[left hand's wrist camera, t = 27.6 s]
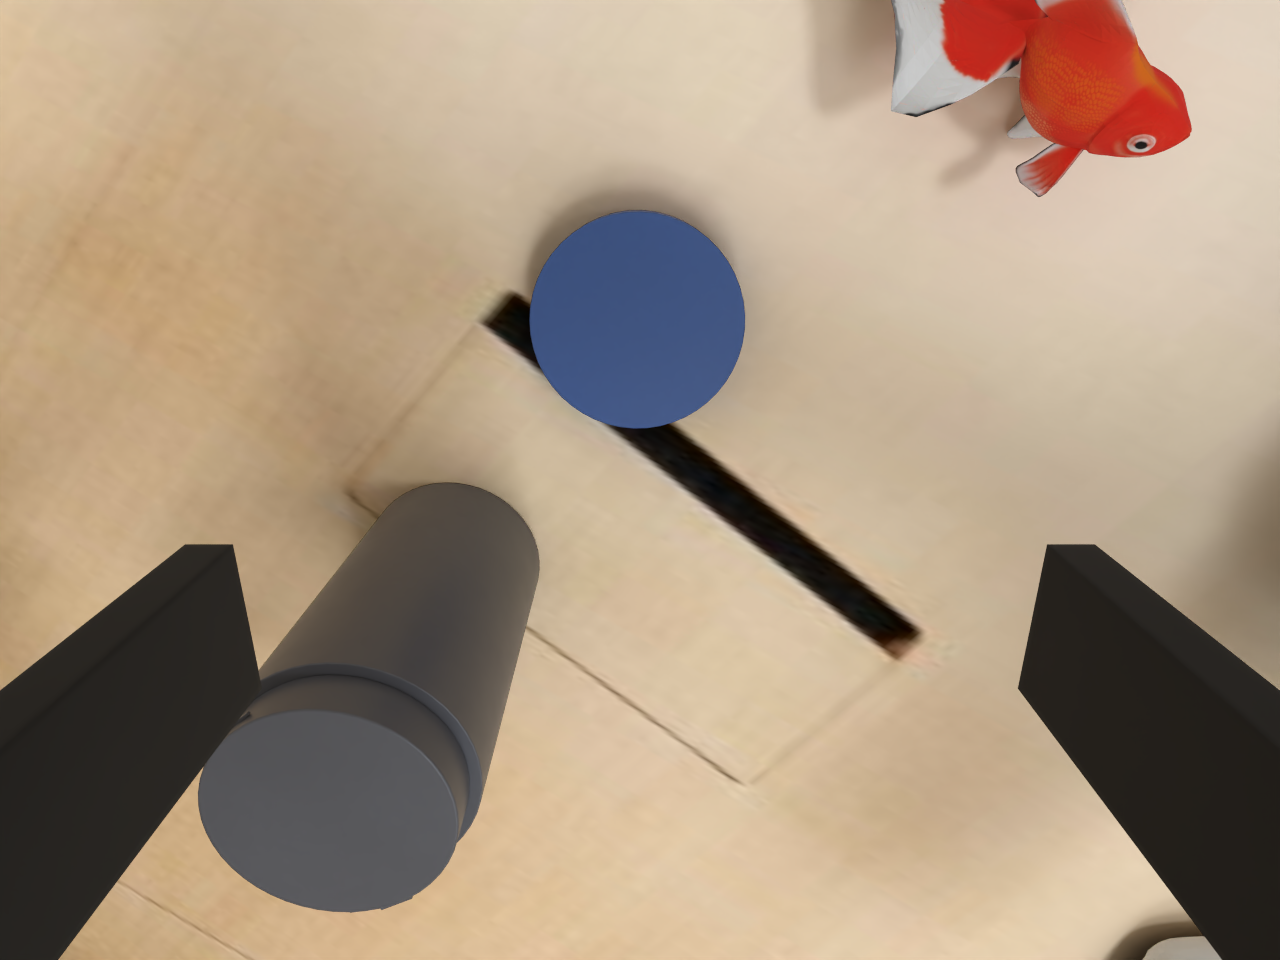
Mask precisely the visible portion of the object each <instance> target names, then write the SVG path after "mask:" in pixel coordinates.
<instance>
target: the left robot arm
mask: <svg viewBox="0 0 1280 960" xmlns="http://www.w3.org/2000/svg"><path fill="white" fill-rule="evenodd" d="M261 689H262V686H261V681H260V676H259V671H258V666H257V661H256V656H255V651H254V647H253V642H252V637H251V632H250V627H249V622H248V617H247V612H246V607H245V602H244V597H243V592H242V587H241V583H240V578H239V573H238V568H237V563H236V558H235V553H234V548H233V545H184V546H183V547H181V548H180V549H179V550H178V551H176V552H175V553H174V554H173V555H171V556H170V557H169V558H168V559H166V560H165V561H164V562H162V563H161V564H160V565H159V566H157V567H156V568H155V569H154V570H152V571H151V572H150V573H149V574H147V575H146V576H145V577H143V578H142V579H141V580H140V581H138V582H137V583H136V584H135V585H133V586H132V587H131V588H130V589H128V590H127V591H126V592H124V593H123V594H122V595H121V596H119V597H118V598H117V599H116V600H114V601H113V602H112V603H111V604H109V605H108V606H107V607H105V608H104V609H103V610H102V611H100V612H99V613H98V614H97V615H95V616H94V617H93V618H92V619H90V620H89V621H88V622H86V623H85V624H84V625H83V626H81V627H80V628H79V629H78V630H76V631H75V632H74V633H73V634H71V635H70V636H69V637H67V638H66V639H65V640H64V641H62V642H61V643H60V644H59V645H57V646H56V647H55V648H54V649H52V650H51V651H50V652H48V653H47V654H46V655H45V656H43V657H42V658H41V659H40V660H38V661H37V662H36V663H34V664H33V665H32V666H31V667H29V668H28V669H27V670H26V671H24V672H23V673H22V674H21V675H19V676H18V677H17V678H15V679H14V680H13V681H12V682H10V683H9V684H8V685H7V686H5V687H4V688H3V689H2V690H0V960H58V959H59V958H60V957H61V955H62V954H63V953H64V951H65V950H66V949H67V947H68V946H69V945H70V943H71V942H72V941H73V939H74V938H75V937H76V935H77V934H78V933H79V931H80V930H81V929H82V927H83V926H84V925H85V923H86V922H87V921H88V919H89V918H90V917H91V915H92V914H93V913H94V911H95V910H96V909H97V907H98V906H99V905H100V903H101V902H102V901H103V899H104V898H105V897H106V895H107V894H108V893H109V891H110V890H111V889H112V887H113V886H114V885H115V883H116V882H117V881H118V879H119V878H120V877H121V875H122V874H123V873H124V871H125V870H126V869H127V867H128V866H129V865H130V863H131V862H132V861H133V859H134V858H135V857H136V855H137V854H138V853H139V851H140V850H141V849H142V847H143V846H144V845H145V843H146V842H147V841H148V839H149V838H150V837H151V835H152V834H153V833H154V831H155V830H156V829H157V828H158V826H159V825H160V824H161V822H162V821H163V820H164V818H165V817H166V816H167V814H168V813H169V812H170V810H171V809H172V808H173V806H174V805H175V804H176V802H177V801H178V800H179V798H180V797H181V796H182V794H183V793H184V792H185V790H186V789H187V788H188V786H189V785H190V784H191V782H192V781H193V780H194V778H195V777H196V776H197V774H198V773H199V772H200V770H201V769H202V768H203V766H204V765H205V764H206V762H207V761H208V760H209V758H210V757H211V756H212V754H213V753H214V752H215V750H216V749H217V748H218V746H219V745H220V744H221V742H222V741H223V740H224V738H225V737H226V736H227V734H228V733H229V732H230V730H231V729H232V728H233V726H234V725H235V724H236V722H237V721H238V720H239V718H240V717H241V716H242V714H243V713H244V712H245V710H246V709H247V708H248V706H249V705H250V704H251V702H252V701H253V700H254V698H255V697H256V696H257V694H258V693H259V692H260V690H261ZM1018 689H1019V690H1020V692H1021V693H1022V694H1023V696H1024V697H1025V698H1026V700H1027V701H1028V702H1029V704H1030V705H1031V706H1032V708H1033V709H1034V710H1035V712H1036V713H1037V714H1038V716H1039V717H1040V718H1041V720H1042V721H1043V722H1044V724H1045V725H1046V726H1047V728H1048V729H1049V730H1050V732H1051V733H1052V734H1053V736H1054V737H1055V738H1056V740H1057V741H1058V742H1059V744H1060V745H1061V746H1062V748H1063V749H1064V750H1065V752H1066V753H1067V754H1068V756H1069V757H1070V758H1071V760H1072V761H1073V762H1074V764H1075V765H1076V766H1077V768H1078V769H1079V770H1080V772H1081V773H1082V774H1083V776H1084V777H1085V778H1086V780H1087V781H1088V782H1089V784H1090V785H1091V786H1092V788H1093V789H1094V790H1095V792H1096V793H1097V794H1098V796H1099V797H1100V798H1101V800H1102V801H1103V802H1104V804H1105V805H1106V806H1107V808H1108V809H1109V810H1110V812H1111V813H1112V814H1113V816H1114V817H1115V818H1116V820H1117V821H1118V822H1119V824H1120V825H1121V826H1122V828H1123V829H1124V830H1125V831H1126V833H1127V834H1128V835H1129V837H1130V838H1131V839H1132V841H1133V842H1134V843H1135V845H1136V846H1137V847H1138V849H1139V850H1140V851H1141V853H1142V854H1143V855H1144V857H1145V858H1146V859H1147V861H1148V862H1149V863H1150V865H1151V866H1152V867H1153V869H1154V870H1155V871H1156V873H1157V874H1158V875H1159V877H1160V878H1161V879H1162V881H1163V882H1164V883H1165V885H1166V886H1167V887H1168V889H1169V890H1170V891H1171V893H1172V894H1173V895H1174V897H1175V898H1176V899H1177V901H1178V902H1179V903H1180V905H1181V906H1182V907H1183V909H1184V910H1185V911H1186V913H1187V914H1188V915H1189V917H1190V918H1191V919H1192V921H1193V922H1194V923H1195V925H1196V926H1197V927H1198V929H1199V930H1200V931H1201V933H1202V934H1203V935H1204V937H1205V938H1206V939H1207V941H1208V942H1209V943H1210V945H1211V946H1212V947H1213V949H1214V950H1215V951H1216V953H1217V954H1218V955H1219V957H1220V958H1221V959H1222V960H1280V690H1278V689H1277V688H1276V687H1275V686H1273V685H1272V684H1271V683H1270V682H1268V681H1267V680H1266V679H1265V678H1263V677H1262V676H1261V675H1259V674H1258V673H1257V672H1256V671H1254V670H1253V669H1252V668H1251V667H1249V666H1248V665H1247V664H1246V663H1244V662H1243V661H1242V660H1240V659H1239V658H1238V657H1237V656H1235V655H1234V654H1233V653H1232V652H1230V651H1229V650H1228V649H1226V648H1225V647H1224V646H1223V645H1221V644H1220V643H1219V642H1218V641H1216V640H1215V639H1214V638H1213V637H1211V636H1210V635H1209V634H1207V633H1206V632H1205V631H1204V630H1202V629H1201V628H1200V627H1199V626H1197V625H1196V624H1195V623H1194V622H1192V621H1191V620H1190V619H1188V618H1187V617H1186V616H1185V615H1183V614H1182V613H1181V612H1180V611H1178V610H1177V609H1176V608H1175V607H1173V606H1172V605H1171V604H1169V603H1168V602H1167V601H1166V600H1164V599H1163V598H1162V597H1161V596H1159V595H1158V594H1157V593H1156V592H1154V591H1153V590H1152V589H1150V588H1149V587H1148V586H1147V585H1145V584H1144V583H1143V582H1142V581H1140V580H1139V579H1138V578H1137V577H1135V576H1134V575H1133V574H1131V573H1130V572H1129V571H1128V570H1126V569H1125V568H1124V567H1123V566H1121V565H1120V564H1119V563H1118V562H1116V561H1115V560H1114V559H1112V558H1111V557H1110V556H1109V555H1107V554H1106V553H1105V552H1104V551H1102V550H1101V549H1100V548H1099V547H1097V546H1096V545H1047V548H1046V553H1045V558H1044V563H1043V568H1042V573H1041V578H1040V583H1039V587H1038V592H1037V597H1036V602H1035V607H1034V612H1033V617H1032V622H1031V627H1030V632H1029V637H1028V642H1027V647H1026V651H1025V656H1024V661H1023V666H1022V671H1021V676H1020V681H1019V686H1018Z"/></svg>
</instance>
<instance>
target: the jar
mask: <svg viewBox="0 0 1280 960" xmlns="http://www.w3.org/2000/svg"><path fill="white" fill-rule="evenodd" d="M538 576H539V555H538V549H537V546H536V542H535V539H534V537H533V535H532V533H531V531H530V529H529V528H528V526H527V524H526V523H525V521H524V520H523V519H522V518H521V516H520V515H519V514H518V513H517V512H516V511H515V510H514V509H513V508H512V507H511V506H510V505H508V504H507V503H506V502H504V501H503V500H502V499H500V498H499V497H497V496H495V495H493V494H491V493H490V492H487V491H485V490H482V489H480V488H477V487H473V486H470V485H465V484H458V483H437V484H430V485H426V486H422V487H419V488H416V489H413V490H411V491H409V492H407V493H405V494H403V495H402V496H400V497H399V498H397V499H396V500H395V501H393V502H392V503H391V504H390V505H389V506H388V507H387V508H386V509H385V510H384V512H383V513H382V514H381V516H380V517H379V518H378V519H377V521H376V522H375V523H374V524H373V526H372V527H371V528H370V530H369V531H368V532H367V533H366V535H365V536H364V537H363V538H362V540H361V541H360V542H359V544H358V545H357V546H356V547H355V549H354V550H353V551H352V552H351V554H350V555H349V556H348V558H347V559H346V560H345V561H344V563H343V564H342V565H341V566H340V568H339V569H338V570H337V572H336V573H335V574H334V575H333V577H332V578H331V579H330V580H329V582H328V583H327V584H326V586H325V587H324V588H323V589H322V591H321V592H320V593H319V594H318V596H317V597H316V598H315V600H314V601H313V602H312V603H311V605H310V606H309V607H308V608H307V610H306V611H305V612H304V613H303V615H302V616H301V617H300V619H299V620H298V621H297V622H296V624H295V625H294V626H293V627H292V629H291V630H290V631H289V633H288V634H287V635H286V636H285V638H284V639H283V640H282V641H281V643H280V644H279V645H278V647H277V648H276V649H275V650H274V652H273V653H272V654H271V655H270V657H269V658H268V659H267V661H266V662H265V663H264V664H263V666H262V667H261V668H260V669H259V676H260V681H261V686H262V689H261V690H260V692H259V693H258V694H257V696H256V697H255V698H254V700H253V701H252V702H251V704H250V705H249V706H248V708H247V709H246V710H245V712H244V713H243V714H242V716H241V717H240V718H239V720H238V721H237V722H236V724H235V725H234V726H233V728H232V729H231V730H230V732H229V733H228V734H227V736H226V737H225V738H224V740H223V741H222V742H221V744H220V745H219V746H218V748H217V749H216V750H215V752H214V753H213V754H212V756H211V757H210V758H209V760H208V761H207V762H206V764H205V765H204V768H203V771H202V774H201V777H200V783H199V790H198V805H199V811H200V816H201V820H202V823H203V826H204V828H205V831H206V833H207V835H208V837H209V839H210V841H211V843H212V844H213V846H214V847H215V849H216V850H217V851H218V853H219V854H220V856H221V857H222V858H223V859H224V860H225V861H226V862H227V863H228V864H229V865H230V867H231V868H232V869H234V870H235V871H236V872H237V873H238V874H239V875H241V876H242V877H243V878H244V879H246V880H247V881H249V882H250V883H252V884H253V885H255V886H256V887H258V888H259V889H261V890H263V891H265V892H267V893H269V894H270V895H273V896H275V897H277V898H280V899H282V900H284V901H287V902H290V903H293V904H296V905H299V906H303V907H308V908H312V909H317V910H324V911H332V912H350V913H351V912H358V911H368V910H374V909H380V908H381V910H383V909H385V908H388V907H391V906H393V905H396V904H399V903H401V902H404V901H407V900H409V899H412V897H413V895H415V894H417V893H419V892H420V891H422V890H423V889H424V888H426V887H427V886H428V885H430V884H431V883H432V882H433V881H434V880H435V879H436V878H437V877H438V876H439V875H440V874H441V872H442V871H443V870H444V868H445V867H446V865H447V864H448V862H449V860H450V858H451V856H452V854H453V852H454V850H455V846H456V843H457V842H458V841H459V840H460V839H461V838H462V837H463V836H464V834H465V833H466V832H467V830H468V829H469V827H470V826H471V824H472V822H473V820H474V818H475V816H476V814H477V812H478V808H479V805H480V802H481V798H482V794H483V791H484V787H485V783H486V779H487V775H488V771H489V767H490V764H491V760H492V756H493V752H494V748H495V744H496V740H497V736H498V733H499V729H500V725H501V721H502V717H503V713H504V709H505V706H506V702H507V698H508V694H509V690H510V686H511V682H512V678H513V675H514V671H515V667H516V663H517V659H518V655H519V651H520V648H521V644H522V640H523V636H524V632H525V628H526V624H527V620H528V617H529V613H530V609H531V605H532V601H533V597H534V593H535V590H536V586H537V582H538Z"/></svg>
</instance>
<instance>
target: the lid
mask: <svg viewBox="0 0 1280 960" xmlns="http://www.w3.org/2000/svg"><path fill="white" fill-rule="evenodd" d="M744 330H745V311H744V302H743V297H742V293H741V289H740V286H739V283H738V281H737V278H736V276H735V273H734V271H733V270H732V268H731V266H730V264H729V262H728V261H727V259H726V258H725V257H724V255H723V254H722V253H721V251H720V250H719V249H718V248H717V247H716V246H715V245H714V244H713V243H712V241H711V240H710V239H709V238H707V237H706V236H705V235H703V234H702V233H701V232H700V231H698V230H697V229H696V228H694V227H693V226H691V225H689V224H687V223H686V222H684V221H682V220H680V219H677V218H675V217H673V216H670V215H667V214H663V213H659V212H654V211H645V210H627V211H621V212H615V213H611V214H608V215H605V216H602V217H599V218H597V219H595V220H593V221H591V222H589V223H587V224H585V225H584V226H582V227H581V228H579V229H578V230H576V231H575V232H573V233H572V234H571V235H570V236H569V237H567V238H566V239H565V240H564V241H563V242H562V243H561V244H560V245H559V246H558V247H557V248H556V250H555V251H554V252H553V253H552V254H551V256H550V257H549V259H548V260H547V262H546V263H545V265H544V266H543V269H542V271H541V273H540V275H539V277H538V279H537V282H536V285H535V288H534V291H533V295H532V301H531V306H530V333H531V339H532V344H533V349H534V352H535V354H536V357H537V360H538V363H539V365H540V367H541V369H542V371H543V373H544V375H545V376H546V378H547V379H548V381H549V382H550V384H551V385H552V387H553V388H554V389H555V390H556V391H557V392H558V393H559V395H560V396H561V397H562V398H563V399H565V400H566V401H567V402H568V403H569V404H570V405H571V406H573V407H574V408H576V409H577V410H579V411H580V412H582V413H583V414H585V415H587V416H589V417H591V418H593V419H595V420H598V421H600V422H603V423H606V424H610V425H614V426H618V427H626V428H649V427H656V426H661V425H665V424H669V423H672V422H675V421H677V420H679V419H682V418H684V417H686V416H688V415H690V414H691V413H693V412H695V411H697V410H698V409H699V408H701V407H702V406H703V405H704V404H706V403H707V402H708V401H709V400H710V399H711V398H712V397H713V396H714V395H715V394H716V393H717V392H718V391H719V390H720V389H721V387H722V386H723V385H724V383H725V382H726V381H727V379H728V377H729V376H730V374H731V372H732V371H733V369H734V366H735V364H736V362H737V359H738V357H739V354H740V350H741V347H742V343H743V337H744Z"/></svg>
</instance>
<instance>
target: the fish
mask: <svg viewBox="0 0 1280 960" xmlns="http://www.w3.org/2000/svg"><path fill="white" fill-rule="evenodd" d="M891 2H892V5H893V9H894V15H895V31H896V58H895V68H894V78H893V91H892V106H891V111H893V112H897V113H902V114H906V115H910V116H914V117H918V116H920V115H923V114H926V113H929V112H931V111H934V110H937V109H940V108H942V107H945V106H948V105H951V104H953V103H955V102H957V101H959V100H961V99H963V98H965V97H967V96H969V95H972V94H973V93H975V92H976V91H978V90H980V89H981V88H983V87H984V86H986V85H988V84H989V83H991V82H992V81H994V80H995V79H997V78H1003V77H1017V78H1020V100H1021V104H1022V108H1023V111H1024V113H1025V115H1024V116H1023V117H1022V118H1021V120H1020V121H1019V122H1018V123H1017V124H1016V125H1015V126H1014V127H1012V128H1011V129H1010V130H1009V131H1008V133H1007V135H1008V137H1009V138H1012V139H1018V138H1029V137H1044V138H1046V139H1047V140H1049V141H1051V142H1053V143H1054V144H1052V145H1050V146H1049V147H1047V148H1046V149H1044V150H1043V151H1041V152H1040V153H1039V154H1037V155H1036V156H1034V157H1033V158H1031V159H1030V160H1028V161H1026V162H1024V163H1022V164H1020V165H1018V166H1017V167H1016V173H1017V176H1018V178H1019V181H1020V183H1021V184H1023V185H1024V186H1025V187H1027V188H1028V189H1030V190H1031V191H1032V192H1033V193H1034V194H1035V195H1036V196H1038V197H1041V196H1042V195H1044V194H1046V193H1047V192H1048V191H1049V190H1050V189H1051V188H1052V187H1053V186H1054V185H1055V184H1056V183H1057V182H1058V181H1059V180H1060V179H1061V178H1062V176H1063V175H1064V174H1065V172H1066V171H1067V170H1068V169H1069V167H1070V166H1071V165H1072V164H1073V162H1074V161H1075V160H1076V159H1077V157H1078V156H1079V155H1080V154H1081V152H1082V151H1083V150H1087V151H1088V152H1089V153H1092V154H1098V155H1108V156H1115V157H1143V156H1148V155H1154V154H1157V153H1159V152H1162V151H1165V150H1167V149H1169V148H1171V147H1173V146H1175V145H1177V144H1179V143H1180V142H1182V141H1184V140H1185V139H1187V138H1188V137H1189V136H1190V133H1191V130H1192V128H1191V123H1190V119H1189V116H1188V112H1187V107H1186V103H1185V99H1184V94H1183V92H1182V90H1181V89H1180V87H1179V86H1178V85H1177V84H1176V83H1175V82H1174V81H1173V80H1172V79H1171V78H1170V77H1169V76H1168V75H1167V74H1165V73H1163V72H1162V71H1160V70H1159V69H1157V68H1156V67H1154V66H1151V65H1150V64H1149V62H1148V61H1147V59H1146V57H1145V55H1144V54H1143V52H1142V50H1141V49H1140V47H1139V46H1138V43H1137V38H1136V35H1135V33H1134V30H1133V27H1132V25H1131V22H1130V20H1129V17H1128V15H1127V12H1126V9H1125V7H1124V5H1123V3H1122V0H891Z"/></svg>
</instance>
